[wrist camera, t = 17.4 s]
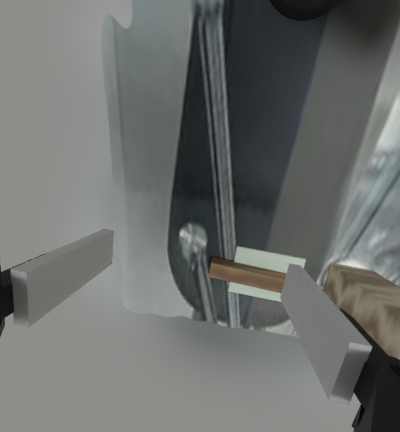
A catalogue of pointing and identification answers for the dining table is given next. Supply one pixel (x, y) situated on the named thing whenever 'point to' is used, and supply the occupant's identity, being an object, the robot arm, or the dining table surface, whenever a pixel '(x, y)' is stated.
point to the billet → (247, 275)
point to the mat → (263, 261)
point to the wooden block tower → (368, 303)
